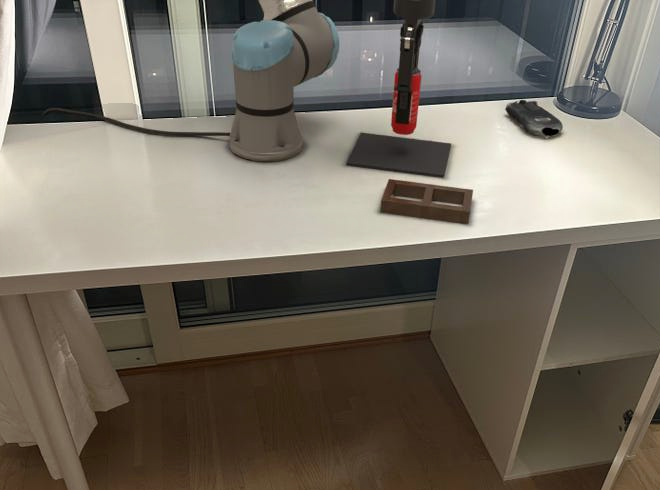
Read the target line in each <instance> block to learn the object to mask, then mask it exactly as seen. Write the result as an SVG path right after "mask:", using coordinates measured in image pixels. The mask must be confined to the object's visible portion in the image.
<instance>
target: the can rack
mask: <svg viewBox="0 0 660 490" xmlns="http://www.w3.org/2000/svg"><path fill="white" fill-rule="evenodd" d="M473 195H474V189H471V188H463V187H457V186H456V187H454V186H447V185H438V184H432V183H424V182H416V181H408V180H401V179H393V178H388V180H387V183H386V186H385V188H384V191H383V194H382V196H381V199H380V211H379V212H380V213H384V214H392V215H399V216H406V217H415V218H421V219H428V220H429V219H430V220H437V221H443V222H450V223H451V222H452V223H459V224H466V225H468V224H469V220H470V216H471V210H472V209H471V208H472V201H473ZM395 196H398V197H395ZM400 197H406V198H400ZM407 198H412V199H407ZM413 198H414V199H413ZM415 199H421V200H415ZM433 201H436V202H433ZM437 202H444V203H445V204H444V203H437ZM446 203H452V204H446ZM453 204H459V205H461V206H458V205H453Z"/></svg>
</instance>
